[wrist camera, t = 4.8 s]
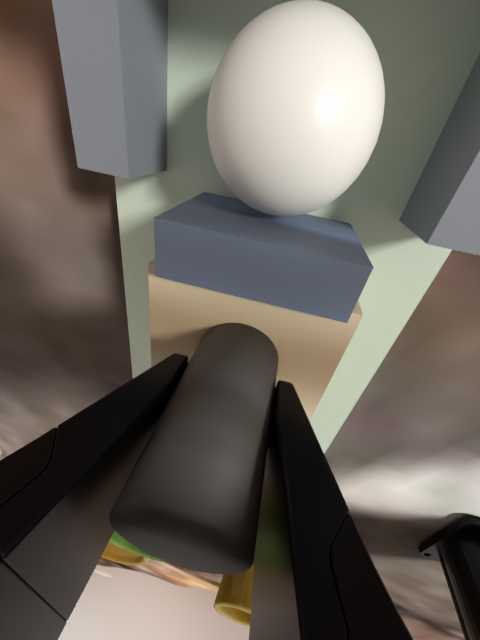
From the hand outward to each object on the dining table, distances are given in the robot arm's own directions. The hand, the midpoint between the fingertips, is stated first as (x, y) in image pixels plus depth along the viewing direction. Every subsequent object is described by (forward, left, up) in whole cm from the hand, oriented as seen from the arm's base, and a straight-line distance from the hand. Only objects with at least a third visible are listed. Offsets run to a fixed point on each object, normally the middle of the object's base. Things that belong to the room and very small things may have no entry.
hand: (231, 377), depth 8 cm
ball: (+6, 0, -3) cm, 7 cm away
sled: (+1, 0, -4) cm, 4 cm away
